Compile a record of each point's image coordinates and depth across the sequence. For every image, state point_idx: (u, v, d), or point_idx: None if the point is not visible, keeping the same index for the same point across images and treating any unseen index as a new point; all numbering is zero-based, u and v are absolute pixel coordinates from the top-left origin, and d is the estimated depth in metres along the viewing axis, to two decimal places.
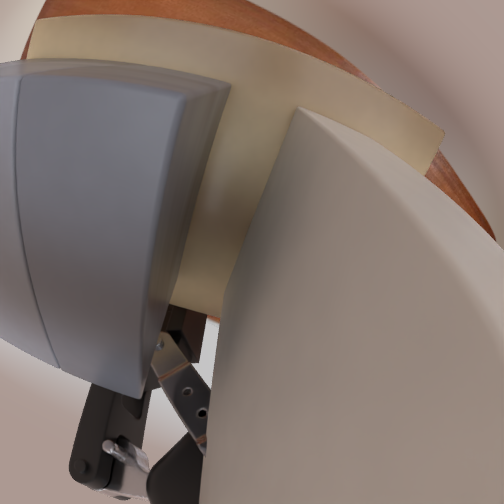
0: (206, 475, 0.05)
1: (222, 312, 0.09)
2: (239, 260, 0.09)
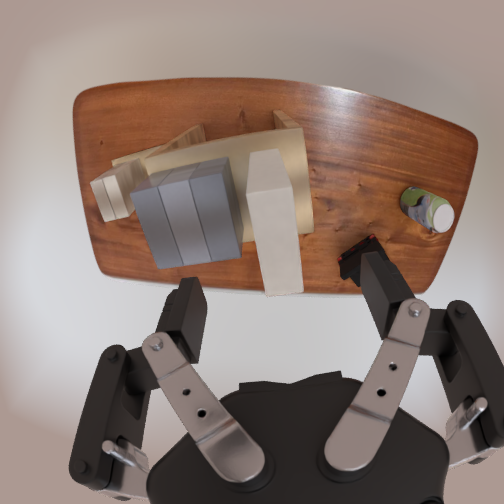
0: None
1: None
2: None
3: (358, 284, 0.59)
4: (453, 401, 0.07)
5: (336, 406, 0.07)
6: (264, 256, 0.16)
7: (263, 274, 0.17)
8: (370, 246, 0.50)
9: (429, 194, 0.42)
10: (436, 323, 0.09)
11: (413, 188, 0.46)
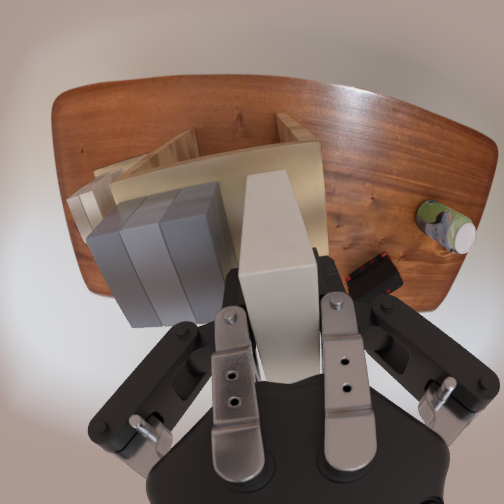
0: None
1: None
2: None
3: None
4: (413, 388, 0.08)
5: None
6: (267, 352, 0.11)
7: (265, 370, 0.11)
8: (382, 266, 0.45)
9: (449, 210, 0.36)
10: (361, 317, 0.10)
11: (431, 202, 0.40)
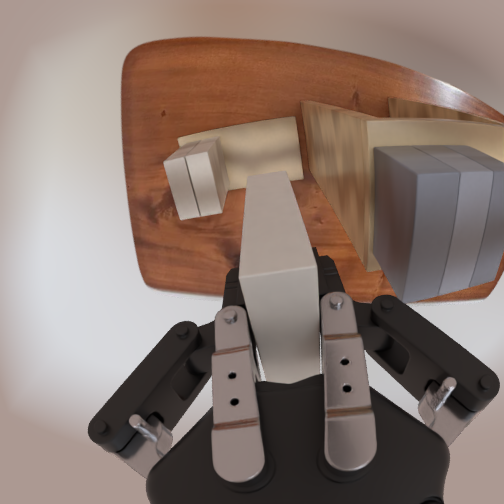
0: None
1: None
2: None
3: None
4: (413, 388, 0.08)
5: None
6: (267, 353, 0.11)
7: (266, 371, 0.11)
8: None
9: None
10: (361, 317, 0.10)
11: None
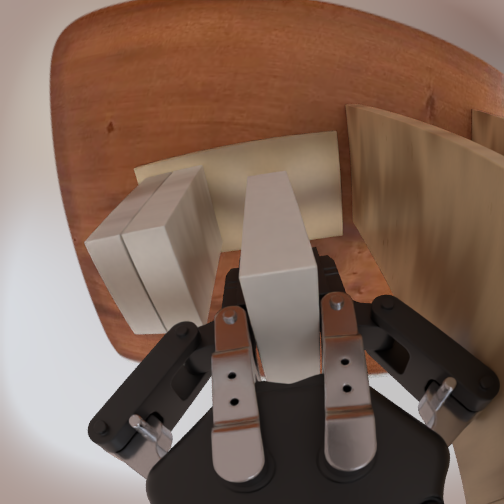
0: None
1: None
2: None
3: None
4: (413, 388, 0.08)
5: None
6: (267, 353, 0.11)
7: (266, 371, 0.11)
8: None
9: None
10: (361, 317, 0.10)
11: None
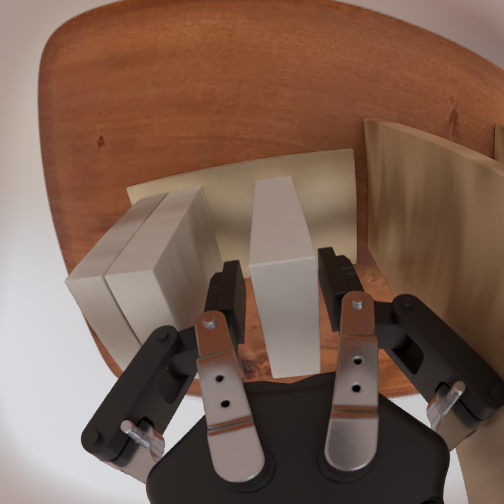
0: None
1: None
2: None
3: None
4: (424, 390, 0.08)
5: None
6: (272, 339, 0.12)
7: (270, 357, 0.13)
8: None
9: None
10: (381, 316, 0.10)
11: None
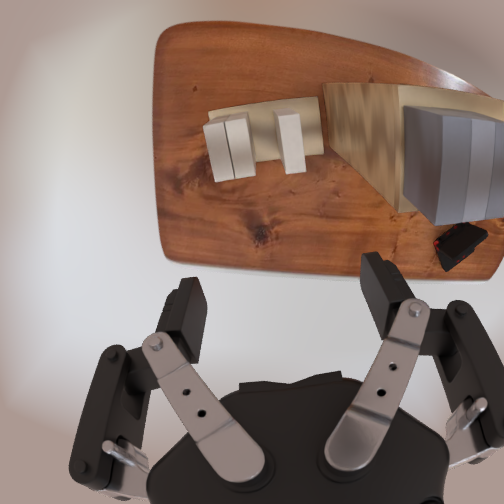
0: None
1: None
2: None
3: (446, 269, 0.51)
4: (453, 401, 0.07)
5: (336, 406, 0.07)
6: (285, 148, 0.31)
7: (285, 159, 0.32)
8: (468, 230, 0.43)
9: None
10: (436, 323, 0.09)
11: None
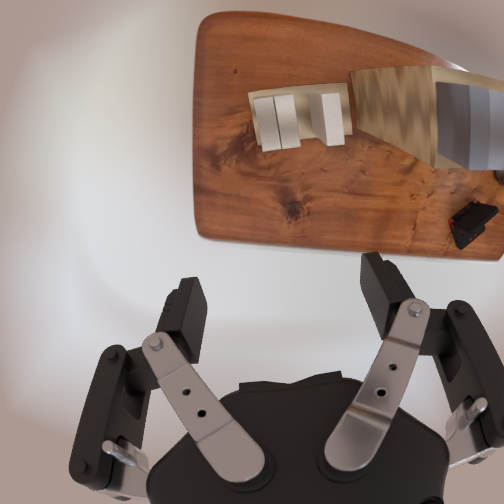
0: (321, 136, 0.37)
1: (314, 133, 0.41)
2: (312, 122, 0.41)
3: (460, 247, 0.52)
4: (453, 401, 0.07)
5: (336, 406, 0.07)
6: (327, 122, 0.33)
7: (326, 132, 0.33)
8: (479, 208, 0.44)
9: None
10: (436, 323, 0.09)
11: None
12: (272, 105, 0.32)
